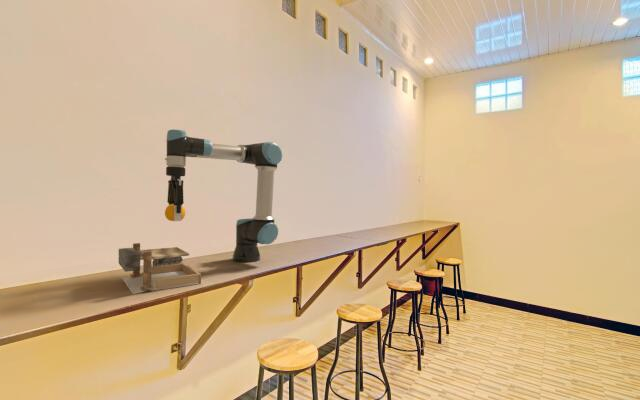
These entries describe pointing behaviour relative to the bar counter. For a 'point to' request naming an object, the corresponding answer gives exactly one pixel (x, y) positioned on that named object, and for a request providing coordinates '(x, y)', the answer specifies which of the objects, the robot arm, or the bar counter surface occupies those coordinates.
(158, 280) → the tray
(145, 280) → the gallows posts
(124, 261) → the trapdoor
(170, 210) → the orange
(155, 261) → the rock
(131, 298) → the bar counter surface
